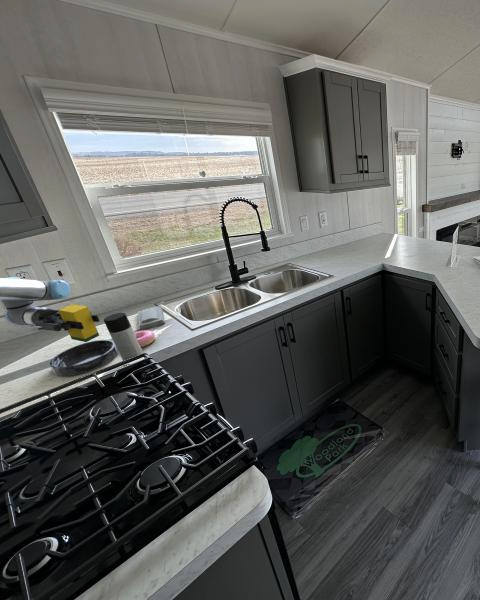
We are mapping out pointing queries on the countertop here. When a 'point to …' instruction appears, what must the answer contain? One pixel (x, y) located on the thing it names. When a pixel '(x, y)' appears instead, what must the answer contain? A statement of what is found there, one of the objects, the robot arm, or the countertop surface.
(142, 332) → the doughnut
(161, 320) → the soap mold
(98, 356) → the bowl
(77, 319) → the sponge
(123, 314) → the spray can
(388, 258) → the countertop surface
